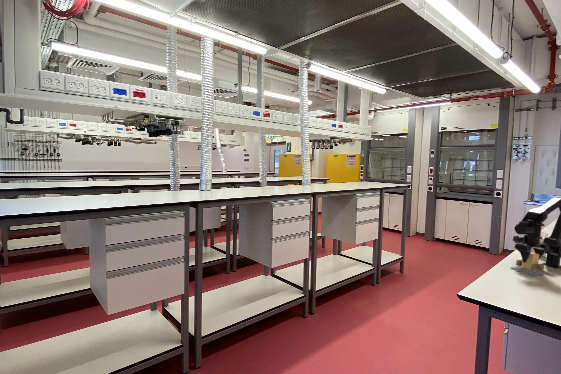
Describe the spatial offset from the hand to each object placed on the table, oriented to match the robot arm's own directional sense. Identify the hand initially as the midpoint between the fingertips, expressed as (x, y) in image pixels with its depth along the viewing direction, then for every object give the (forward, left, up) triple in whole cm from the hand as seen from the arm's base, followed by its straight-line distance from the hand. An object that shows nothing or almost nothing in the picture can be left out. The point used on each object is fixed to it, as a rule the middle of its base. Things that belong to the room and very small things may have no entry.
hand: (530, 261), depth 163 cm
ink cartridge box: (-32, -16, -3) cm, 36 cm away
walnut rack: (0, 0, -3) cm, 3 cm away
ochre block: (0, 0, -3) cm, 3 cm away
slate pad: (+9, +4, -3) cm, 11 cm away
